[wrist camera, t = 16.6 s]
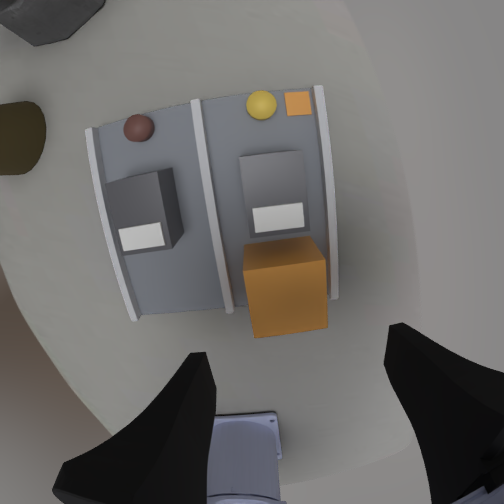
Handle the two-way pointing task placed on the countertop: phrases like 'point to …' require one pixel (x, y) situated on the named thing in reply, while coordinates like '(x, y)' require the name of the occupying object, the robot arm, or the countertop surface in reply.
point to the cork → (20, 137)
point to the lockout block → (285, 286)
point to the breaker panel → (213, 192)
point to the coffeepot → (46, 18)
